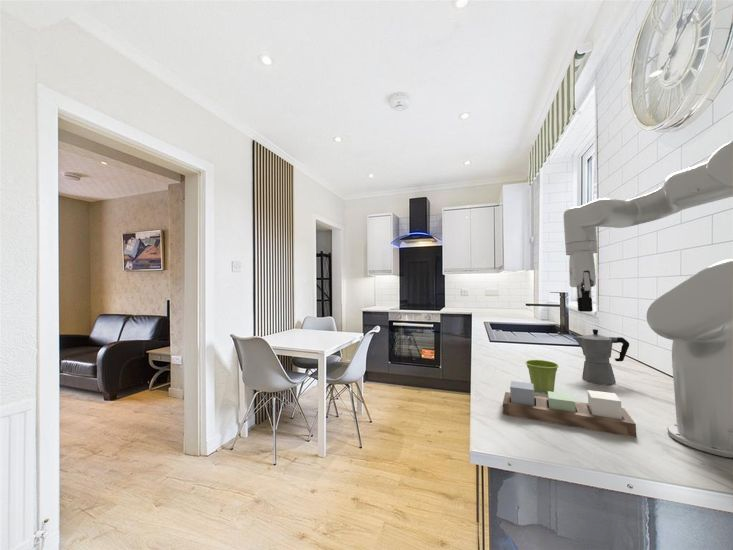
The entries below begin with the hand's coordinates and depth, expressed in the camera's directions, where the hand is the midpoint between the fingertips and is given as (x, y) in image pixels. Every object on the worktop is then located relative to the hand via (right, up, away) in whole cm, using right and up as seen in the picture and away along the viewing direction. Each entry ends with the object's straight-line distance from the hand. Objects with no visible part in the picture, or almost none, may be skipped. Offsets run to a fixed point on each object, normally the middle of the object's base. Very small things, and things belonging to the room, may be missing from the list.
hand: (585, 311), depth 84 cm
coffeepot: (+19, -27, +17) cm, 37 cm away
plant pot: (-6, -27, +10) cm, 30 cm away
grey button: (-21, -25, -5) cm, 33 cm away
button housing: (-13, -26, -10) cm, 31 cm away
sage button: (-13, -26, -10) cm, 31 cm away
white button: (-6, -24, -14) cm, 28 cm away
